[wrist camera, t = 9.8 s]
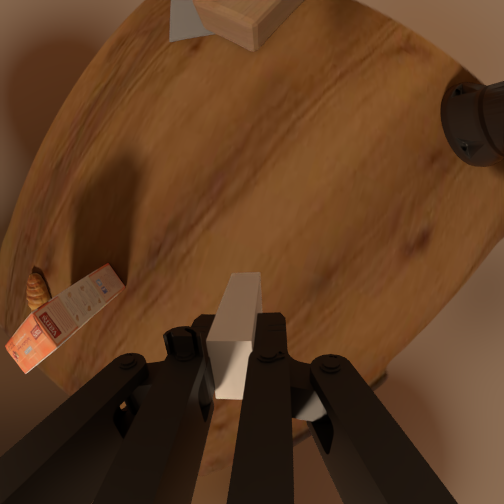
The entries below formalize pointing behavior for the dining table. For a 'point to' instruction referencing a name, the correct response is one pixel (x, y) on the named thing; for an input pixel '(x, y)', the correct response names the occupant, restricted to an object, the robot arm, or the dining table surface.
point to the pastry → (36, 291)
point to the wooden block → (244, 19)
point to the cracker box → (62, 317)
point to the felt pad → (185, 21)
